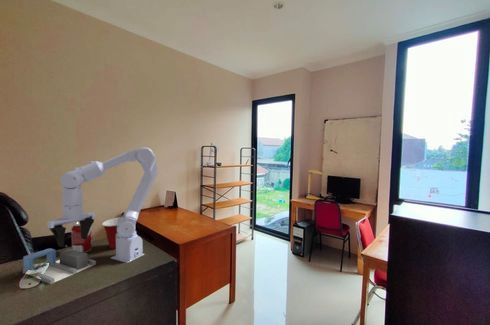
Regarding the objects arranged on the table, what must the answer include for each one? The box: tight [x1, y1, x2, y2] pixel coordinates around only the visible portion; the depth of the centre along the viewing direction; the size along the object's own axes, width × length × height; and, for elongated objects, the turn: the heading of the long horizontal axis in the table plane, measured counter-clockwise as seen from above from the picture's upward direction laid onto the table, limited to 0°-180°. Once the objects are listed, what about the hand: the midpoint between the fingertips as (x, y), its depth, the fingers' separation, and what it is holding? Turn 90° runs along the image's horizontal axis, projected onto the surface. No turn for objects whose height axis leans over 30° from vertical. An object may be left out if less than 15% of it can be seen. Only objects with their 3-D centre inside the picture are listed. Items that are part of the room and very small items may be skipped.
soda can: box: [70, 221, 93, 253], centre depth 95 cm, size 7×7×12 cm
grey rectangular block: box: [59, 248, 89, 270], centre depth 82 cm, size 10×4×4 cm, turn 67°
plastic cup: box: [101, 217, 120, 250], centre depth 100 cm, size 11×11×12 cm
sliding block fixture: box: [22, 248, 97, 285], centre depth 80 cm, size 16×14×6 cm
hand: (73, 242), depth 82 cm, fingers open, 7 cm apart
